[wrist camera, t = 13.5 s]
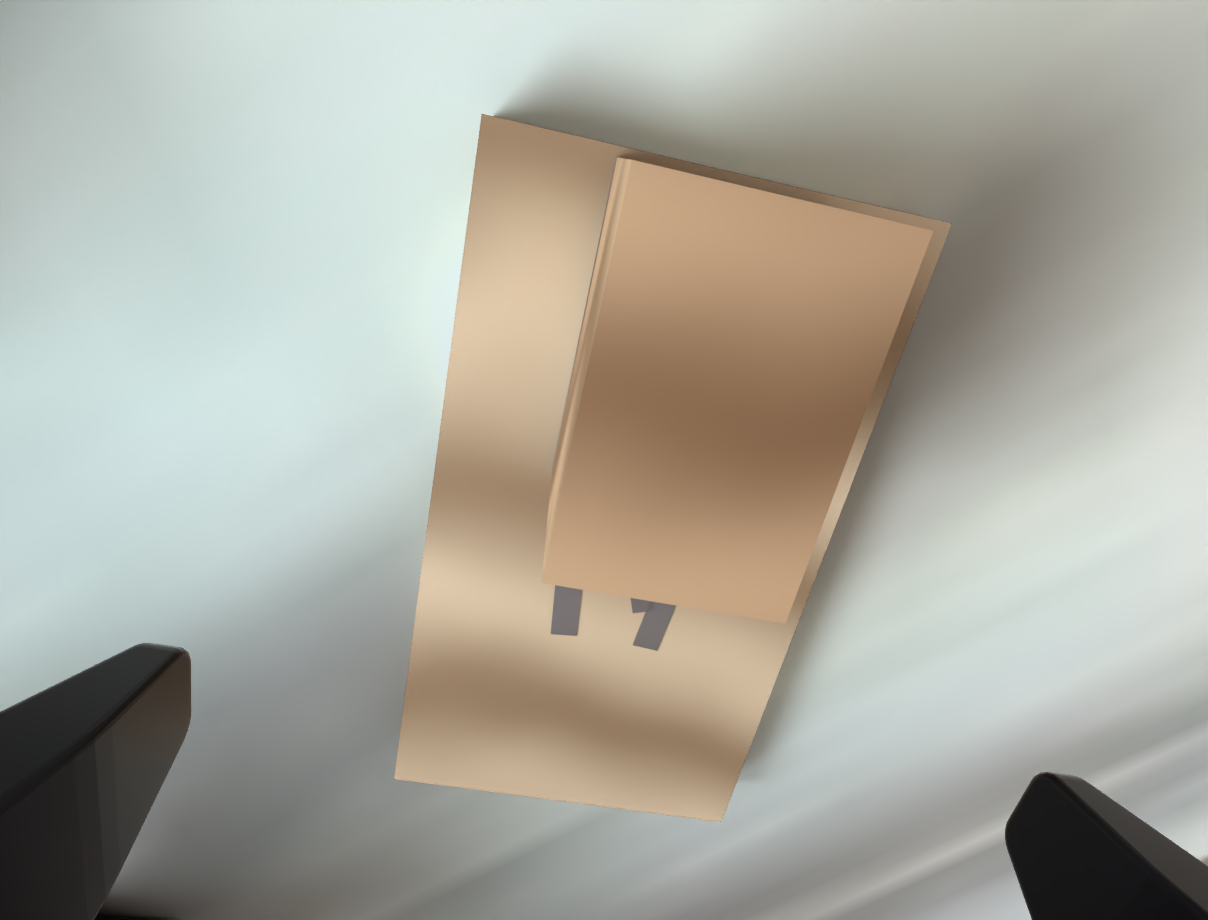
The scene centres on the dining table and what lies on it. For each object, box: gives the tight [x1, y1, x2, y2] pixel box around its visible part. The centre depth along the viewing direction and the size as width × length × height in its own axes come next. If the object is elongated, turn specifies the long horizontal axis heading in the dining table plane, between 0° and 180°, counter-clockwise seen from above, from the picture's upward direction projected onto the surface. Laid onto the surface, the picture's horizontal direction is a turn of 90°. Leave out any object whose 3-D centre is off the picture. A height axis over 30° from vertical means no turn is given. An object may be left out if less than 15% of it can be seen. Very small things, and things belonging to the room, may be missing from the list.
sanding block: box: [541, 157, 933, 624], centre depth 14 cm, size 7×4×5 cm, turn 168°
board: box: [394, 114, 952, 822], centre depth 19 cm, size 18×10×2 cm, turn 168°
